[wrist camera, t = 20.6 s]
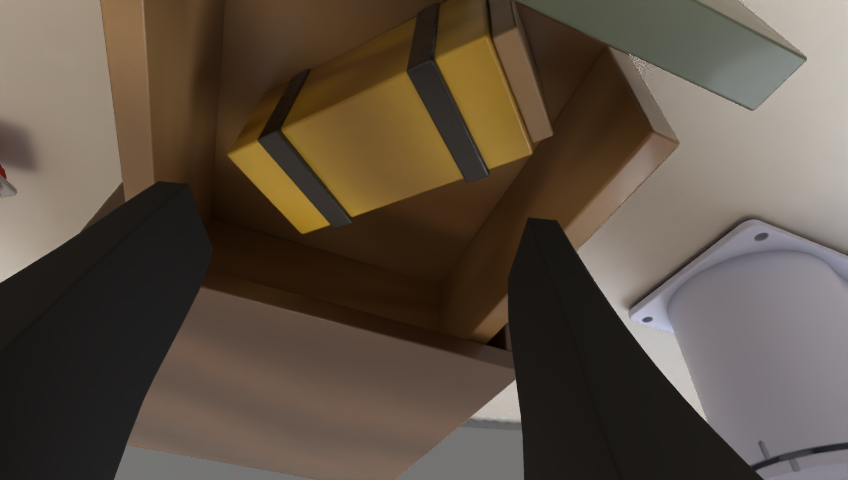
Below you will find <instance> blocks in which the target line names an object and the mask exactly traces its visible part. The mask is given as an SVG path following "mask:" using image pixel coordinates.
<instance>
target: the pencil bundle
mask: <svg viewBox="0 0 848 480" xmlns="http://www.w3.org/2000/svg"><path fill="white" fill-rule="evenodd" d="M553 135H554V131H553V127H552V123H551V119H550V115H549V111H548V107H547V103H546V99H545V95H544V91H543V87H542V83H541V79H540V76H539V73H538V70H537V67H536V64H535V61H534V58H533V55H532V52H531V49H530V46H529V43H528V40H527V37H526V34H525V31H524V28H523V25H522V22H521V19H520V16H519V13H518V10H517V7H516V4H515V1H514V0H449V1H447V2H445V3H443V4H441V5H440V4H439V3H436V4H434V5H432V6H430V7H428V8H426V9H424V10H422V11H420V12H418V14H417V17H415V18H413V19H411V20H409V21H407V22H405V23H403V24H401V25H399V26H397V27H395V28H393V29H391V30H390V31H388V32H386V33H384V34H382V35H380V36H378V37H376V38H374V39H372V40H370V41H368V42H366V43H364V44H362V45H360V46H358V47H356V48H354V49H352V50H350V51H348V52H346V53H344V54H342V55H340V56H338V57H336V58H334V59H333V60H331V61H329V62H327V63H325V64H323V65H321V66H319V67H317V68H315V69H313V70H310V69H306V70H304V71H302V72H300V73H298V74H296V75H294V76H293V77H292V79H291V80H290V81H289V82H287V83H285V84H283V85H281V86H279V87H277V88H276V89H274V90H272V91H270V92H268V93H266V94H264V96H263V97H262V99H261V100H260V102H259V104H258V105H257V107H256V108H255V110H254V112H253V113H252V115H251V117H250V118H249V120H248V121H247V123H246V125H245V126H244V128H243V129H242V131H241V133H240V134H239V136H238V138H237V139H236V141H235V142H234V144H233V146H232V147H231V149H230V150H229V152H228V154H227V156H228V157H229V158H230V159H231V161H232V162H233V163H234V164H235V165H236V166H237V167H238V168H239V169H240V170H241V171H242V172H243V173H244V174H245V175H246V176H247V177H248V178H249V179H250V181H251V182H252V183H253V184H254V185H255V186H256V187H257V188H258V189H259V190H260V191H261V192H262V193H263V194H264V195H265V196H266V197H267V198H268V199H269V201H270V202H271V203H272V204H273V205H274V206H275V207H276V208H277V209H278V210H279V211H280V212H281V213H282V214H283V215H284V216H285V217H286V218H287V219H288V221H289V222H290V223H291V224H292V225H293V226H294V227H295V228H296V229H297V230H298V231H299V232H300V233H301V234H305V233H308V232H311V231H314V230H317V229H320V228H323V227H326V226H328V225H331V226H332V227H333V228H334V229H337V228H340V227H343V226H346V225H348V224H351V223H352V222H353V219H354V216H357V215H360V214H363V213H366V212H369V211H371V210H374V209H377V208H380V207H383V206H386V205H389V204H392V203H394V202H397V201H400V200H403V199H406V198H409V197H412V196H415V195H417V194H420V193H423V192H426V191H429V190H432V189H435V188H437V187H440V186H443V185H446V184H449V183H452V182H455V181H458V180H460V179H463V178H464V179H465V181H466V182H467V183H470V182H473V181H476V180H479V179H482V178H485V177H487V176H489V169H492V168H495V167H498V166H501V165H503V164H506V163H509V162H512V161H515V160H518V159H521V158H524V157H526V156H529V155H532V154H533V151H534V149H533V144H532V142H533V143H535V142H537V141H540V140H543V139H546V138H549V137H551V136H553Z"/></svg>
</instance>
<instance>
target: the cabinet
mask: <svg viewBox="0 0 848 480" xmlns="http://www.w3.org/2000/svg"><path fill="white" fill-rule="evenodd" d="M124 203H125V194H124V186H123V182H122V183H121V184H120V185H119V186H118V188H117V189H116V190H115V191H114V192H113V194H112V195H111V196H110V197H109V198H108V200H107V201H106V202H105V203H104V204H103V206H102V207H101V208H100V209H99V210H98V212H97V213H96V214H95V215H94V216H93V218H92V219H91V220H90V221H89V222H88V224H87V225H86V226H85V227H84V228H83V230H82V231H84V230H85V229H87V228H88V227H90V226H91V225H93V224H94V223H96V222H97V221H99V220H100V219H102V218H103V217H105V216H106V215H108V214H109V213H110V212H112V211H113V210H115V209H116V208H118V207H119V206H121V205H122V204H124ZM82 231H81V232H82ZM81 232H80V233H81ZM514 380H516V376H515V369H514V362H513V354H512V346H511V339H510V331H509V323H508V322H507V323H506V324H505V325H504V326H503V327H502V328H501V329H500V330H499V331H498V332H497V334H496V335H495V336H494V337H493V338H492V339H491V340H490V341H489V342H488V343H487V344H486V345H485V344H481V343H477V342H474V341H470V340H466V339H463V338H459V337H455V336H452V335H448V334H444V333H441V332H437V331H433V330H430V329H426V328H422V327H419V326H415V325H411V324H407V323H404V322H400V321H396V320H393V319H389V318H385V317H382V316H378V315H374V314H371V313H367V312H363V311H360V310H356V309H352V308H349V307H345V306H341V305H337V304H334V303H330V302H326V301H323V300H319V299H315V298H312V297H308V296H304V295H301V294H297V293H293V292H290V291H286V290H282V289H279V288H275V287H271V286H267V285H264V284H260V283H256V282H253V281H249V280H245V279H242V278H238V277H234V276H231V275H227V274H223V273H220V272H216V271H212V270H209V269H207V271H206V273H205V276H204V279H203V282H202V284H201V287H200V290H199V292H198V294H197V296H196V298H195V300H194V302H193V304H192V306H191V308H190V310H189V312H188V314H187V316H186V318H185V320H184V322H183V324H182V326H181V328H180V330H179V332H178V333H177V335H176V337H175V339H174V341H173V343H172V345H171V347H170V349H169V351H168V353H167V355H166V357H165V358H164V360H163V362H162V364H161V366H160V368H159V370H158V372H157V374H156V376H155V378H154V380H153V382H152V384H151V386H150V388H149V390H148V392H147V394H146V397H145V399H144V401H143V403H142V406H141V408H140V411H139V414H138V416H137V419H136V421H135V424H134V426H133V429H132V431H131V434H130V437H129V439H128V442H127V444H126V445H130V446H135V447H140V448H146V449H152V450H157V451H163V452H168V453H174V454H179V455H185V456H191V457H196V458H201V459H207V460H213V461H218V462H224V463H229V464H235V465H240V466H246V467H252V468H257V469H262V470H268V471H273V472H280V473H284V474H290V475H295V476H301V477H306V478H312V479H318V480H396V479H397V478H398V477H399V476H400V475H401V474H403V473H404V472H405V471H406V470H407V469H408V468H410V467H411V466H412V465H413V464H415V463H416V462H417V461H418V460H419V459H421V458H422V457H423V456H424V455H426V454H427V453H428V452H429V451H430V450H432V448H434V447H435V446H436V445H438V444H439V443H440V442H441V441H442V440H443V439H445V438H446V437H447V436H448V435H449V434H451V433H452V432H453V431H454V430H455V429H457V428H458V427H459V426H460V425H462V424H463V423H464V422H465V421H466V420H468V419H469V418H470V417H471V416H472V415H474V414H475V413H476V412H477V411H478V410H480V409H481V408H482V407H483V406H484V405H486V404H487V403H488V402H489V401H490V400H492V399H493V398H494V397H495V396H496V395H498V394H499V393H500V392H501V391H502V390H504V389H505V388H506V387H507V386H508V385H510V384H511V383H512V382H513V381H514Z"/></svg>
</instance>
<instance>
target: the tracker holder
mask: <svg viewBox="0 0 848 480" xmlns="http://www.w3.org/2000/svg"><path fill="white" fill-rule="evenodd" d="M6 178H7V177H6V174H5V170H4V169H3V167H2V166H1V165H0V198H3V197H10V196H15V195H16V194H17V190H16V188H15V187H13V186H12V185H11V184H10V183H9V182H8V181H7V180H6Z"/></svg>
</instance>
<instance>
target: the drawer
mask: <svg viewBox="0 0 848 480" xmlns="http://www.w3.org/2000/svg"><path fill="white" fill-rule="evenodd" d="M447 1H449V0H100V3H101V11H102V19H103V27H104V35H105V43H106V51H107V59H108V67H109V75H110V83H111V91H112V99H113V107H114V115H115V123H116V131H117V139H118V147H119V154H120V162H121V170H122V178H123V186H124V194H125V202H127V201H128V200H130V199H131V198H133V197H134V196H136V195H137V194H139V193H140V192H142V191H143V190H145V189H147V188H148V187H150V186H151V185H153V184H155V183H156V182H158V181H164V182H174V183H184V184H188V186H189V188H190V191H191V193H192V196H193V199H194V201H195V204H196V206H197V209H198V212H199V214H200V217H201V219H202V222H203V225H204V227H205V230H206V232H207V235H208V238H209V240H210V243H211V245H212V248H213V252H212V255H211V258H210V261H209V264H208V267H207V269H209V270H212V271H216V272H220V273H223V274H227V275H231V276H234V277H238V278H242V279H245V280H249V281H253V282H256V283H260V284H264V285H267V286H271V287H275V288H279V289H282V290H286V291H290V292H293V293H297V294H301V295H304V296H308V297H312V298H315V299H319V300H323V301H326V302H330V303H334V304H337V305H341V306H345V307H349V308H352V309H356V310H360V311H363V312H367V313H371V314H374V315H378V316H382V317H385V318H389V319H393V320H396V321H400V322H404V323H407V324H411V325H415V326H419V327H422V328H426V329H430V330H433V331H437V332H441V333H444V334H448V335H452V336H455V337H459V338H463V339H466V340H470V341H474V342H477V343H481V344H485V345H486V344H487V343H488V342H489V341H490V340H491V339H492V338H493V337H494V336H495V335H496V334H497V332H498V331H499V330H500V329H501V328H502V327H503V326H504V325H505V324H506V323H507V322H508V276H509V273H510V270H511V267H512V264H513V261H514V258H515V255H516V252H517V249H518V246H519V243H520V240H521V237H522V234H523V231H524V228H525V225H526V222H527V219H528V217H529V218H539V219H550V220H557V221H558V223H559V224H560V226H561V227H562V229H563V231H564V232H565V234H566V236H567V237H568V239H569V241H570V242H571V244H572V246H573V247H574V249H575V251H577V250H578V249H579V248H580V247H581V246H582V245H583V244H584V243H585V242H586V241H587V240H588V239H589V238H590V237H591V236H592V235H593V234H594V233H595V231H596V230H597V229H598V228H599V227H600V226H601V225H602V224H603V223H604V222H605V221H606V220H607V219H608V218H609V217H610V216H611V215H612V214H613V213H614V212H615V211H616V210H617V209H618V208H619V207H620V206H621V205H622V204H623V203H624V202H625V201H626V200H627V199H628V197H629V196H630V195H631V194H632V193H633V192H634V191H635V190H636V189H637V188H638V187H639V186H640V185H641V184H642V183H643V182H644V181H645V180H646V179H647V178H648V177H649V176H650V175H651V174H652V173H653V172H654V171H655V170H656V169H657V168H658V167H659V166H660V165H661V163H662V162H663V161H664V160H665V159H666V158H667V157H668V156H669V155H670V154H671V153H672V152H673V151H674V150H675V149H676V148H677V147H678V146H679V144H680V142H679V141H678V139H677V137H676V136H675V134H674V132H673V130H672V129H671V127H670V125H669V123H668V122H667V120H666V118H665V117H664V115H663V113H662V111H661V110H660V108H659V106H658V105H657V103H656V101H655V99H654V98H653V96H652V94H651V93H650V91H649V89H648V87H647V86H646V84H645V82H644V80H643V79H642V77H641V75H640V74H639V72H638V70H637V68H636V67H635V65H634V63H633V62H632V60H631V58H630V57H629V54H631V55H633V56H636V57H638V58H640V59H642V60H644V61H646V62H648V63H651V64H653V65H655V66H657V67H659V68H661V69H663V70H665V71H668V72H670V73H672V74H674V75H676V76H678V77H680V78H683V79H685V80H687V81H689V82H691V83H693V84H695V85H698V86H700V87H702V88H704V89H706V90H708V91H710V92H712V93H715V94H717V95H719V96H721V97H723V98H725V99H727V100H730V101H732V102H734V103H736V104H738V105H740V106H742V107H745V108H747V109H749V110H752V111H753V110H755V109H756V108H757V107H758V106H759V105H760V104H761V103H762V102H763V101H764V100H765V99H767V98H768V97H769V96H770V95H771V94H772V93H773V92H774V91H775V90H776V89H777V88H778V87H779V86H780V85H781V84H782V83H783V82H784V81H785V80H786V79H787V78H788V77H790V76H791V75H792V74H793V73H794V72H795V71H796V70H797V69H798V68H799V67H800V66H801V65H802V64H803V63H804V62H805V61H806V60H807V58H806V56H805V55H804V54H802V53H801V52H800V51H799V50H798V49H796V48H795V47H794V46H793V45H792V44H790V43H789V42H788V41H787V40H786V39H784V38H783V37H782V36H781V35H780V34H778V33H777V32H776V31H775V30H774V29H772V28H771V27H770V26H769V25H768V24H766V23H765V22H764V21H763V20H762V19H760V18H759V17H758V16H757V15H756V14H754V13H753V12H752V11H751V10H749V9H748V8H747V7H746V6H745V5H743V4H742V3H741V2H740V1H739V0H514V1H515V4H516V7H517V10H518V13H519V16H520V19H521V22H522V25H523V28H524V31H525V34H526V37H527V40H528V43H529V46H530V49H531V52H532V55H533V58H534V61H535V64H536V67H537V70H538V73H539V76H540V79H541V83H542V87H543V91H544V95H545V99H546V103H547V107H548V111H549V115H550V119H551V123H552V127H553V131H554V135H553V136H551V137H549V138H546V139H543V140H540V141H537V142H535V143H533V142H532V144H533V149H534V151H533V154H532V155H529V156H526V157H524V158H521V159H518V160H515V161H512V162H509V163H506V164H503V165H501V166H498V167H495V168H492V169H489V176H487V177H485V178H482V179H479V180H476V181H473V182H470V183H467V182H466V181H465V179H464V178H463V179H460V180H458V181H455V182H452V183H449V184H446V185H443V186H440V187H437V188H435V189H432V190H429V191H426V192H423V193H420V194H417V195H415V196H412V197H409V198H406V199H403V200H400V201H397V202H394V203H392V204H389V205H386V206H383V207H380V208H377V209H374V210H371V211H369V212H366V213H363V214H360V215H357V216H354V219H353V222H352V223H351V224H348V225H346V226H343V227H340V228H337V229H334V228H333V227H332V226H331V225H328V226H326V227H323V228H320V229H317V230H314V231H311V232H308V233H305V234H301V233H300V232H299V231H298V230H297V229H296V228H295V227H294V226H293V225H292V224H291V223H290V222H289V221H288V219H287V218H286V217H285V216H284V215H283V214H282V213H281V212H280V211H279V210H278V209H277V208H276V207H275V206H274V205H273V204H272V203H271V202H270V201H269V199H268V198H267V197H266V196H265V195H264V194H263V193H262V192H261V191H260V190H259V189H258V188H257V187H256V186H255V185H254V184H253V183H252V182H251V181H250V179H249V178H248V177H247V176H246V175H245V174H244V173H243V172H242V171H241V170H240V169H239V168H238V167H237V166H236V165H235V164H234V163H233V162H232V161H231V159H230V158H229V157H228V156H227V154H228V152H229V150H230V149H231V147H232V146H233V144H234V142H235V141H236V139H237V138H238V136H239V134H240V133H241V131H242V129H243V128H244V126H245V125H246V123H247V121H248V120H249V118H250V117H251V115H252V113H253V112H254V110H255V108H256V107H257V105H258V104H259V102H260V100H261V99H262V97H263V96H264V94H266V93H268V92H270V91H272V90H274V89H276V88H277V87H279V86H281V85H283V84H285V83H287V82H289V81H290V80H291V79H292V77H293V76H294V75H296V74H298V73H300V72H302V71H304V70H306V69H310V70H313V69H315V68H317V67H319V66H321V65H323V64H325V63H327V62H329V61H331V60H333V59H334V58H336V57H338V56H340V55H342V54H344V53H346V52H348V51H350V50H352V49H354V48H356V47H358V46H360V45H362V44H364V43H366V42H368V41H370V40H372V39H374V38H376V37H378V36H380V35H382V34H384V33H386V32H388V31H390V30H391V29H393V28H395V27H397V26H399V25H401V24H403V23H405V22H407V21H409V20H411V19H413V18H415V17H417V14H418V12H420V11H422V10H424V9H426V8H428V7H430V6H432V5H434V4H436V3H439V4H440V5H441V4H443V3H445V2H447ZM628 53H629V54H628Z"/></svg>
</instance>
